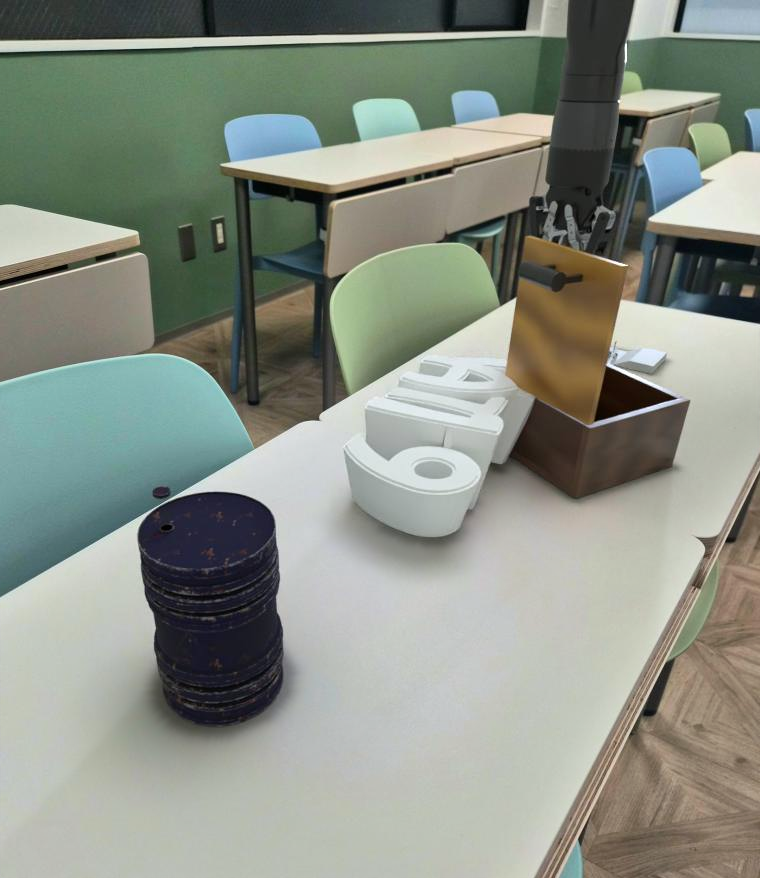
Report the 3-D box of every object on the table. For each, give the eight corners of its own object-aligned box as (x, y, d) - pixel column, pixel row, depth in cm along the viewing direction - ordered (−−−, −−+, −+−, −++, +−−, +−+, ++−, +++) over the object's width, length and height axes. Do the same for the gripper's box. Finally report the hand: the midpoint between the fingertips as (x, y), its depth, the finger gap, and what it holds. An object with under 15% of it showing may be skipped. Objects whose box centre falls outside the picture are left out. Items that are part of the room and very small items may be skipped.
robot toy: (651, 374, 115) (655, 358, 114) (578, 356, 121) (581, 342, 120) (665, 360, 120) (668, 345, 119) (594, 344, 126) (597, 330, 125)
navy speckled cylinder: (288, 636, 64) (280, 455, 54) (281, 727, 55) (271, 531, 46) (173, 637, 63) (145, 455, 54) (149, 728, 55) (111, 532, 46)
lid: (530, 235, 80) (493, 239, 78) (628, 265, 70) (588, 270, 68) (509, 378, 89) (475, 385, 87) (593, 424, 79) (557, 433, 76)
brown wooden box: (589, 421, 100) (602, 360, 96) (672, 466, 90) (690, 399, 85) (497, 447, 94) (506, 382, 89) (575, 499, 83) (590, 428, 79)
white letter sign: (446, 404, 103) (452, 332, 98) (561, 432, 96) (574, 356, 91) (308, 521, 78) (306, 432, 72) (450, 571, 70) (460, 476, 65)
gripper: (651, 147, 84) (622, 294, 93) (563, 135, 95) (545, 268, 103) (603, 151, 81) (578, 303, 89) (518, 139, 91) (503, 275, 100)
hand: (561, 284), depth 96 cm, fingers closed on milkshake, 4 cm apart
